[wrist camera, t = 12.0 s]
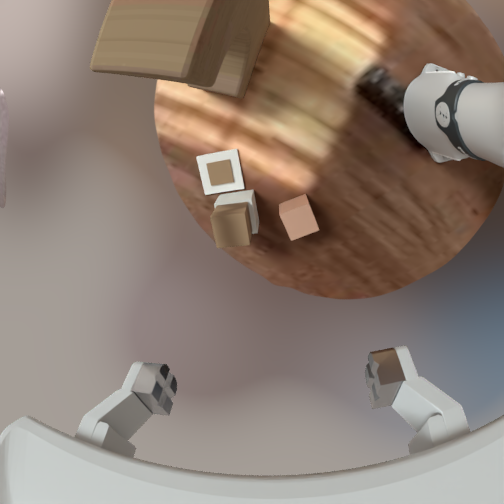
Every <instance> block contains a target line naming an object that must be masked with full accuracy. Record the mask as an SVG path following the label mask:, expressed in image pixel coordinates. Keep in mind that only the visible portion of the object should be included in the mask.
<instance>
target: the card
mask: <svg viewBox="0 0 504 504" xmlns="http://www.w3.org/2000/svg"><path fill="white" fill-rule="evenodd" d="M197 162H198V166H199V171H200V175H201V179H202V184H203V188H204V192H205V195H208V194H214V193H220V192H226V191H232V190H239V189H244V182H243V177H242V172H241V166H240V161H239V156H238V151H237V149H232V150H227V151H221V152H216V153H211V154H206V155H201V156H197Z"/></svg>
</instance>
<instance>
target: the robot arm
mask: <svg viewBox="0 0 504 504" xmlns="http://www.w3.org/2000/svg"><path fill="white" fill-rule="evenodd" d="M436 70H437V71H436ZM404 115H405V120H406V123H407V125H408V128H409V130H410V131H411V133H412V135H413V136H414V137H415V138H416V140H417V141H418V142H419V143H421V144H422V145H423V146H424V147H425V148H427V150H428V151H429V153H430V155H431V157H432V158H433V160H434V161H435V162H439V163H441V162H445V161H450V160H457V161H461V159H465V158H468V157H470V158H473V159H478V160H482V161H485V160H487V161H490V162H492V163H494V164H496V165H499V166H501V167H503V168H504V82H500V83H484V82H481V81H479V80H478V79H477V78H475V77H472V76H467V79H466V78H465V74H463V73H457V74H456V73H455V72H454V71H449V70H447V69H444V68H442V67H440V66H437V65H435V64H426V65H425V67H424V69H423V71H422V74H421V75H420V76H418V77H417V78H416V79H414V80H413V81H412V82H411V83H410V85H409V86H408V88H407V90H406V93H405V96H404ZM368 361H369V363H368V364H367V365H366V370H365V377H366V383H367V387H368V388H370V389H371V391H370V394H369V398H370V402H371V407H372V409H375V408H380V407H386V406H391V405H392V407H393V408H394V409H395V410H396V411H397V412H398V413H399V414H400V415H401V416H402V417H403V418H404V419H405V420H406V421H407V423H409V425H410V426H411V427H412V428H413V429H414V430H415V431H416V432H417V434H416V435H415V436H414V438H413V439H412V440H411V441H410V443H409V444H408V446H409V452H410V455H408V456H405V457H401V458H398V459H394V460H390V461H386V462H382V463H378V464H373V465H368V466H363V467H358V468H352V469H346V470H340V471H332V472H324V473H314V474H301V475H282V476H281V475H280V476H279V475H278V476H258V475H257V476H256V475H255V476H254V475H233V474H221V473H211V472H203V471H196V470H189V469H183V468H177V467H172V466H166V465H161V464H157V463H153V462H148V461H144V460H140V459H136V458H133V457H134V454H135V450H136V448H135V446H134V445H133V444H131V443H130V442H129V441H128V440H129V439H130V438H131V437H132V435H133V434H134V433H135V432H136V431H137V430H138V429H139V428H140V427H141V426H142V425H143V424H144V423H145V422H146V421H147V420H148V419H149V418H150V417H151V416H152V415H153V414H160V415H169V414H170V411H171V408H172V405H173V402H172V400H171V398H172V397H174V396H175V394H176V391H177V382H176V378H175V377H174V375H173V374H171V373H169V370H170V369H169V367H168V366H167V364H155V363H145V362H134V363H133V364H132V366H131V369H130V371H129V373H128V375H127V377H126V379H125V382H124V384H123V386H122V388H121V390H117V391H116V392H114V393H113V394H112V395H111V396H110V397H108V398H107V399H105V400H104V401H103V402H102V403H100V404H99V405H97V406H96V407H95V408H94V409H92V410H91V411H90V412H88V413H87V414H86V415H84V417H83V419H82V422H81V424H80V426H79V428H78V431H77V433H76V435H75V437H72V436H70V435H68V434H65V433H63V432H61V431H59V430H57V429H54V428H52V427H50V426H48V425H46V424H44V423H42V422H40V421H38V420H37V419H35V418H33V417H31V416H24V417H21V418H20V419H18V420H17V421H15V422H13V423H12V424H10V425H9V426H7V427H6V428H5V429H4V431H3V432H2V434H1V435H0V504H504V415H503V416H501V417H499V418H497V419H495V420H494V421H492V422H490V423H488V424H486V425H484V426H482V427H480V428H478V429H476V430H474V431H472V432H470V429H469V426H468V423H467V420H466V417H465V414H464V411H463V409H462V406H461V405H460V404H459V403H457V402H456V401H454V400H453V399H452V398H451V397H449V396H448V395H446V394H445V393H444V392H443V391H441V390H440V389H438V388H437V387H436V386H434V385H433V384H432V383H430V382H429V381H428V380H426V379H425V378H423V377H419V376H418V374H417V371H416V368H415V366H414V363H413V360H412V358H411V355H410V353H409V350H408V348H407V347H406V346H405V345H404V346H400V347H395V348H389V349H384V350H379V351H374V352H370V353H369V355H368Z"/></svg>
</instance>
